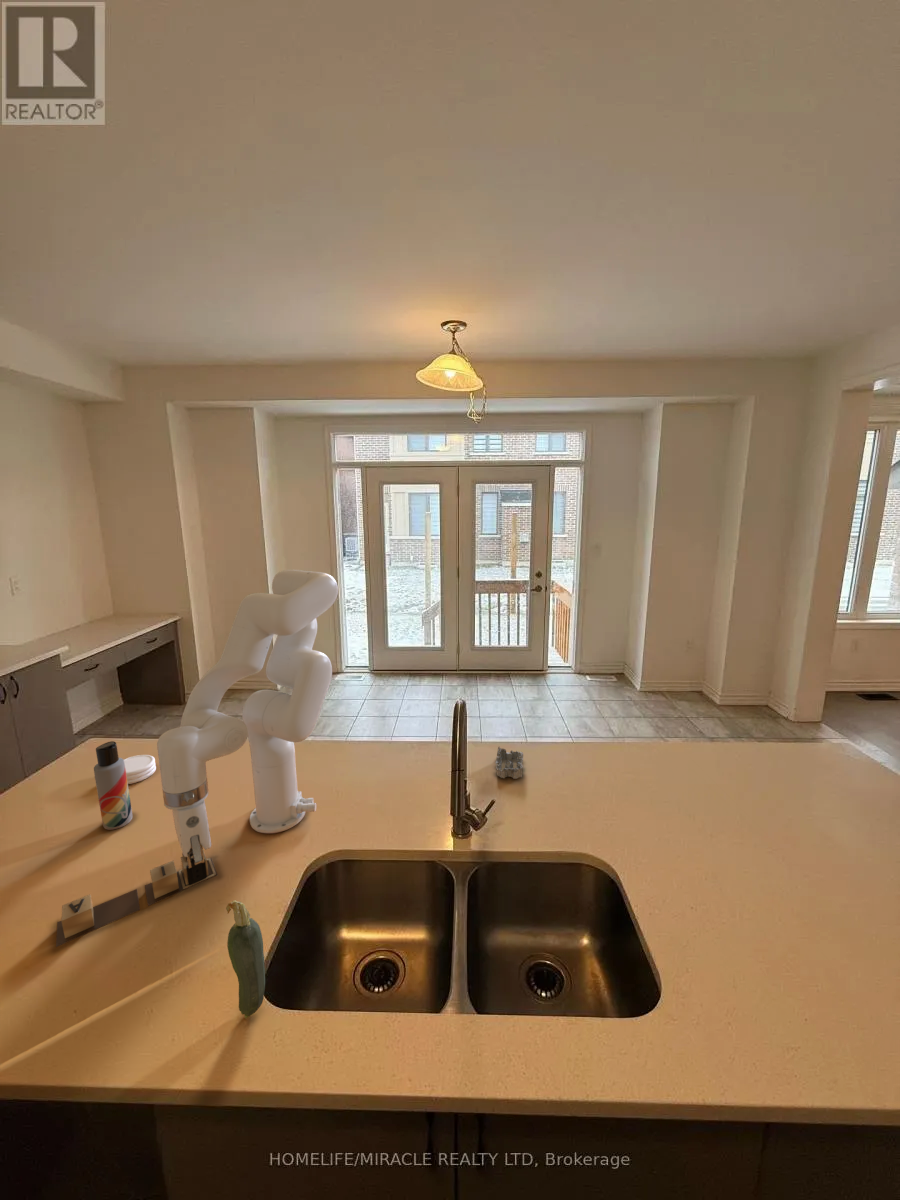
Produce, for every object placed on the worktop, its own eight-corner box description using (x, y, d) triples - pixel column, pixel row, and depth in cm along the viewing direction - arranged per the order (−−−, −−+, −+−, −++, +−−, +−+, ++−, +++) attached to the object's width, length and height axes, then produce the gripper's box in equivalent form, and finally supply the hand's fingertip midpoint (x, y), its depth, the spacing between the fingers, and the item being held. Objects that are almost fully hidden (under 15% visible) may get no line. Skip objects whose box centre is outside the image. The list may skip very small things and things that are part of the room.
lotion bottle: (117, 832, 105) (104, 751, 101) (97, 828, 106) (83, 749, 102) (138, 815, 111) (127, 739, 107) (118, 812, 112) (106, 736, 108)
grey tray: (211, 859, 97) (209, 842, 96) (217, 876, 92) (215, 858, 92) (144, 887, 90) (142, 868, 89) (148, 907, 85) (145, 888, 84)
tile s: (204, 863, 95) (202, 847, 94) (208, 875, 92) (206, 859, 91) (182, 872, 93) (180, 856, 92) (185, 885, 90) (183, 868, 89)
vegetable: (273, 1000, 69) (262, 886, 65) (263, 1033, 65) (250, 913, 61) (243, 1001, 69) (231, 887, 65) (231, 1034, 65) (216, 914, 61)
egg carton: (497, 757, 136) (497, 745, 135) (523, 760, 135) (523, 747, 134) (494, 778, 126) (494, 764, 125) (522, 781, 124) (522, 767, 124)
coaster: (160, 775, 127) (158, 763, 127) (116, 790, 121) (114, 778, 120) (151, 761, 134) (150, 750, 134) (109, 774, 128) (108, 763, 127)
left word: (137, 890, 89) (134, 872, 88) (140, 911, 84) (137, 892, 84) (57, 924, 82) (53, 904, 81) (56, 948, 77) (52, 928, 76)
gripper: (217, 804, 85) (225, 890, 88) (199, 766, 98) (207, 842, 101) (170, 821, 80) (181, 911, 84) (157, 778, 93) (167, 857, 97)
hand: (195, 872), depth 92 cm, fingers closed on tile s, 3 cm apart
